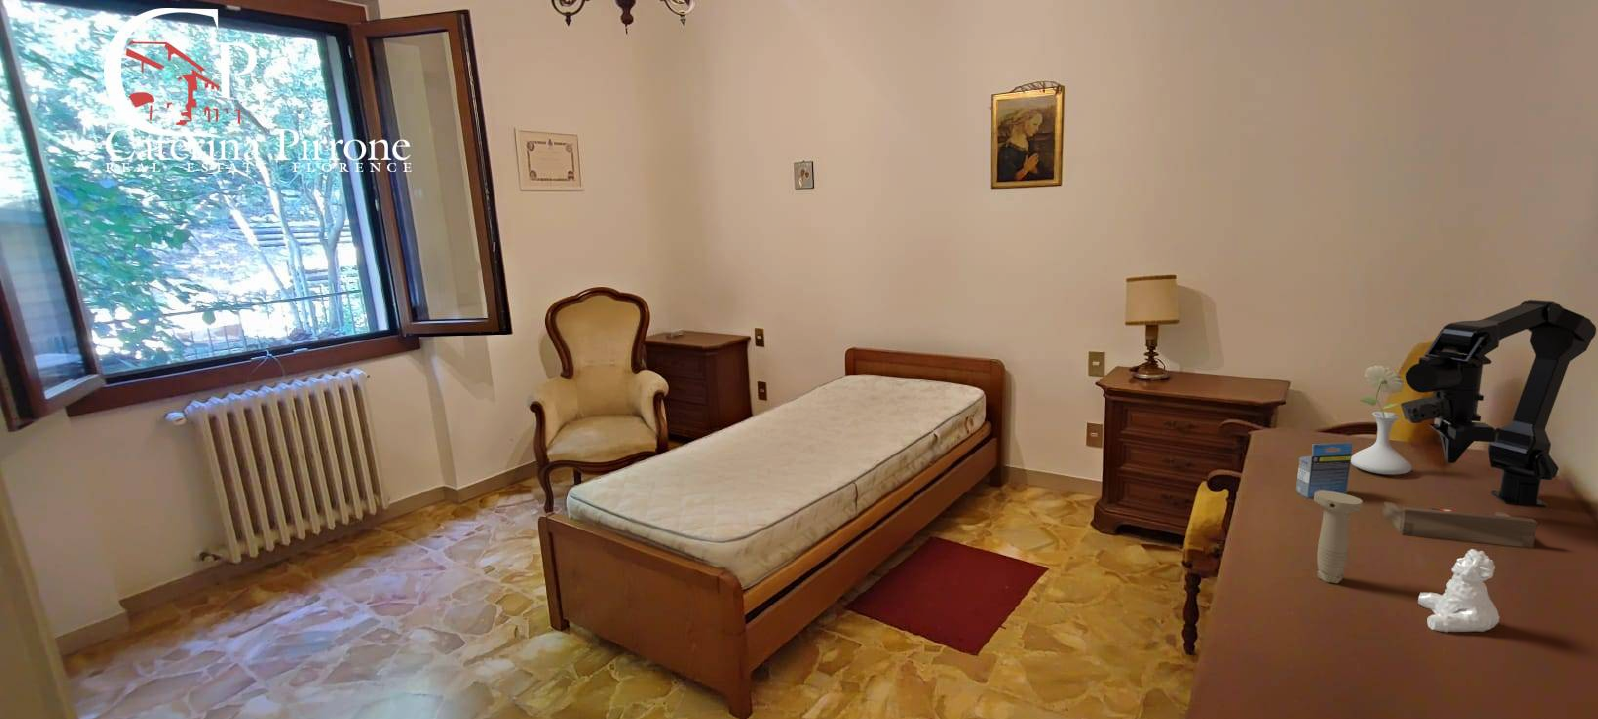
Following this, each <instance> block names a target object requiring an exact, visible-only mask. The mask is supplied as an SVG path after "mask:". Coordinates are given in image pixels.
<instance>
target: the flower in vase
mask: <svg viewBox="0 0 1598 719" xmlns="http://www.w3.org/2000/svg"><path fill="white" fill-rule="evenodd" d="M1363 376H1364V377H1365V378H1366V381H1367V382H1368V383H1369V384H1370V386H1371V387H1373V388H1375V389H1376V392H1375V398H1372V397H1371V396H1369V395H1366V396H1363V398H1361V399H1360V402H1362V403H1365V404H1367V405H1370V406H1372V407H1373V406H1375V405H1377V406H1378V408H1379V410H1380V411H1376V412H1375V411H1374V412H1372V413H1371V415H1372V416H1373V417H1374V419H1375V422H1376V425H1377V426H1376V427H1377V435H1376V440H1375V442H1374V443H1373V445H1370V446H1369V447H1367V448H1365V449H1362V450H1360V451H1358V452H1356V453H1354V454H1353V455H1352V456H1351V463H1350V464H1351V465H1353V466H1354V467H1356V468H1358V469H1360V470H1362V471H1366V472H1370V473H1375V474H1381V475H1391V476H1392V475H1395V476H1396V475H1402V474H1403V475H1404V474H1408V473H1409V472H1411V470H1412V465H1411V463H1410V462H1409V461H1408V460H1407V459H1406V458H1405V457H1403V456H1402V455H1401V454H1399V453H1398V452H1397V451H1396V450H1394V448H1392V446H1391V443H1390V437H1391V436H1390V435H1391V431H1392V427H1393V426H1394V423H1395V422H1396V421H1397V420H1398V419H1399V418H1400V417H1401V416H1400V415H1399V414H1396V413H1392V412H1385V411H1384V410H1386V409H1391V408H1393V407H1395V406H1396V407H1397V405H1399V404H1400V402H1398V403H1391V404H1388V405H1386V406H1384V407H1381V405H1380V403H1379V401H1378V393H1379V391H1380V390H1381V392H1382V393H1388V394H1392V393H1393V394H1397V393H1401V392H1402V389H1403V388H1404V386H1405V384H1404V383H1405V381H1404V380H1402V376H1401V375H1399V374H1398V372H1397V371H1392V370H1391V368H1390V367H1383V366H1382V365H1379V366H1378V365H1374V366H1369V367H1368V368H1366V371H1365V374H1364V375H1363Z"/></svg>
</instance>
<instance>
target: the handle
mask: <svg viewBox="0 0 1598 719" xmlns="http://www.w3.org/2000/svg"><path fill="white" fill-rule="evenodd" d="M1313 500H1314V502H1315V503H1317V504H1318V505H1319V506H1320V507H1322V508H1323V517H1322V522H1321V528H1320V533H1319V540H1318V546H1317V557H1316V558H1317V568H1318V570H1317V577H1318V579H1321V580H1323V582H1325V583H1333V584H1339V582H1341V581H1342V579H1343V577H1344V576H1343V573H1344V571H1345V568H1346V564H1347V559H1348V558H1347V557H1348V547H1349V546H1348V541H1349V518H1350V515H1351V514H1350V513H1355V512H1358V511H1360V510H1361V509H1362V507H1363V500H1362V499H1361V498H1360V497H1357V496H1354V495H1351V494H1348V493H1346V494H1344V493H1339V492H1334V491H1325V490H1320V491H1316V492H1315V493H1314V497H1313Z"/></svg>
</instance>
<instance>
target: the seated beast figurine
mask: <svg viewBox="0 0 1598 719" xmlns="http://www.w3.org/2000/svg"><path fill="white" fill-rule="evenodd" d="M1495 569H1496V566H1495V565H1494V561H1493V560H1491V559H1490V558H1489V556H1488V555H1486V553H1485V551H1483V550H1479V551H1478V550H1477V549H1473V548H1470V550H1467V552H1466V553H1465V554H1464V557H1463V558H1457V559H1456V562H1455V564H1454V565H1453V567H1451V571H1452V573H1453V575H1452V576H1451V579H1448V582H1447V583H1446V584H1445V585H1446V589H1444V590H1445V591H1444V593H1443V594H1440V593H1436V592H1420V593H1419V596H1418V599H1417V604H1418V605H1419V606H1420V607H1422V608H1426V609H1428V610H1432V612H1433V613H1434V614H1431V615H1429V616H1427V621H1426V622H1427V623H1426V624H1427V626H1428V628H1429V629H1431V630H1432V631H1436V632H1443V633H1446V634H1447V633H1448V632H1449V633H1472V632H1477V633H1478V632H1480V633H1483V632H1486V631H1489V630H1492V628H1495V627H1496V625H1498V624H1499V621H1500V618H1501V616H1500V615H1499V612H1498V609H1497V607H1496V606H1495V604H1494V603H1493V601H1492V600H1491V598H1490V595H1489V594H1488V588H1487V587H1488V586H1487V585H1486V584H1485V581H1487V580H1488V579H1492V578H1493V576H1494V571H1495Z"/></svg>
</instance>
